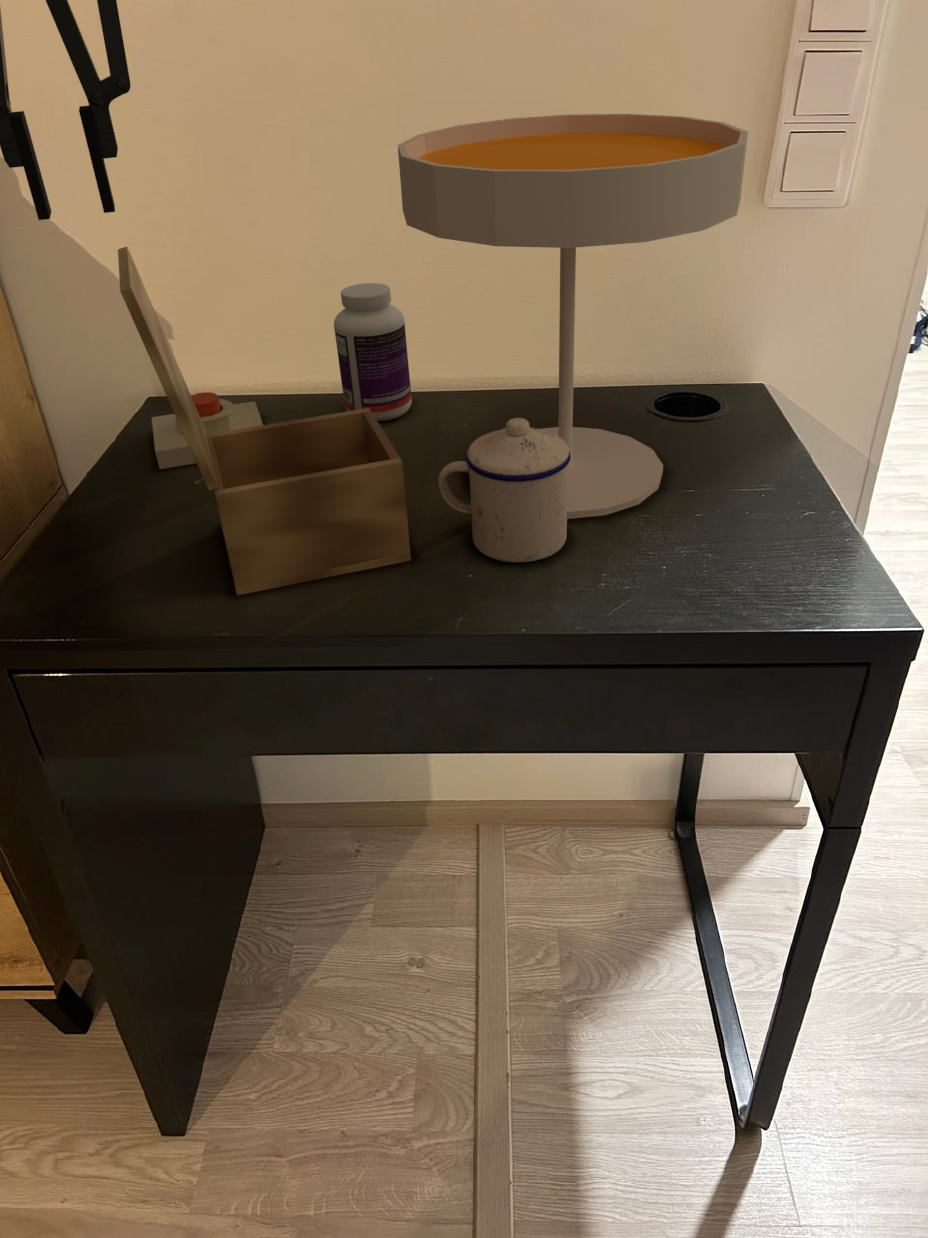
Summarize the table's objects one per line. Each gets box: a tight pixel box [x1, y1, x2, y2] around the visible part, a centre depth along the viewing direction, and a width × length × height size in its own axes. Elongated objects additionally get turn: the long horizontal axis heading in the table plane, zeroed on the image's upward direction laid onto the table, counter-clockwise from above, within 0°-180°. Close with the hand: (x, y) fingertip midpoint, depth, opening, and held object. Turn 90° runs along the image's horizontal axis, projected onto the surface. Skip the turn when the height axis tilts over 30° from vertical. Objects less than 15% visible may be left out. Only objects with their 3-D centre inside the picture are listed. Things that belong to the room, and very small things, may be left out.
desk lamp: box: [397, 113, 749, 520], centre depth 90 cm, size 30×30×31 cm
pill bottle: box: [333, 282, 413, 422], centre depth 110 cm, size 8×8×14 cm
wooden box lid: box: [117, 246, 218, 491], centre depth 77 cm, size 16×13×1 cm
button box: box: [151, 398, 264, 470], centre depth 108 cm, size 12×10×4 cm
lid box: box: [207, 408, 412, 596], centre depth 86 cm, size 16×13×10 cm
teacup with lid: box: [437, 417, 571, 563], centre depth 85 cm, size 12×9×12 cm
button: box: [190, 391, 221, 417], centre depth 107 cm, size 4×4×2 cm
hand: (77, 211), depth 69 cm, fingers open, 4 cm apart
